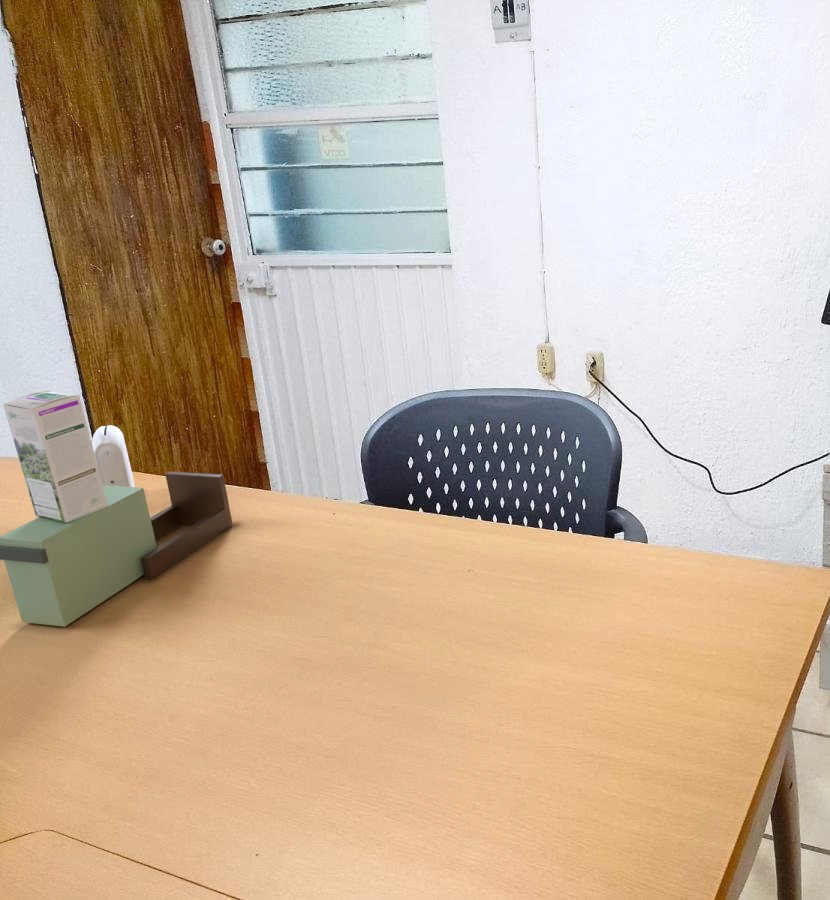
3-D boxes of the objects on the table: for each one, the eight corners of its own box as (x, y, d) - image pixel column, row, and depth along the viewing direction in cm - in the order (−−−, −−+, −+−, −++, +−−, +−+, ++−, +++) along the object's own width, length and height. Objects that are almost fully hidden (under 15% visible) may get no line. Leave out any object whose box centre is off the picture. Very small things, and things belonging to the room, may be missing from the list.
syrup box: (110, 506, 102) (82, 392, 97) (64, 525, 97) (32, 406, 92) (79, 499, 104) (50, 388, 99) (32, 518, 99) (-1, 401, 94)
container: (18, 623, 97) (-8, 539, 93) (121, 560, 112) (103, 485, 109) (62, 628, 96) (38, 543, 92) (161, 563, 111) (144, 487, 107)
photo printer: (137, 510, 129) (120, 435, 125) (105, 516, 127) (87, 440, 123) (137, 488, 138) (121, 417, 134) (108, 493, 136) (90, 422, 132)
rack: (93, 573, 109) (78, 518, 107) (180, 520, 125) (169, 471, 122) (152, 579, 107) (139, 523, 105) (232, 524, 123) (223, 474, 120)
